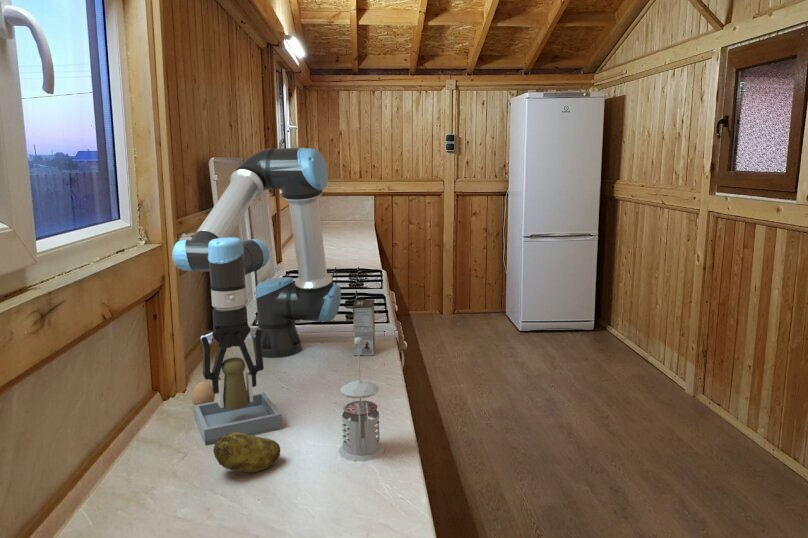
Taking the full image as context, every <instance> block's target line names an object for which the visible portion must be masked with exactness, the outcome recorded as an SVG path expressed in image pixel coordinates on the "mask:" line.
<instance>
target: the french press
mask: <svg viewBox="0 0 808 538" xmlns="http://www.w3.org/2000/svg"><path fill="white" fill-rule="evenodd" d="M354 343H355V344H358V354H359V356H358V379H357V380H354V381H350V382H347V384H345V385H343V386H342V387H341V388H340V393H341V394H342V395H343V396H344V397H346V398H350V399H359V400H353V401H351V402H347V403H346V404H345V405H344V406H343V412H342V415H341V421H342V422H343V423H342V424H341V425H342V427H341V428H342V431H341V432H342V439H343V440H342V445H341V446H340V447H339V449H338V454H339V456H340V457H341V458H344V459H345V460H348V461H353V462H366V461H371V460H374V458H375V459H377V458H379V457H381V456H382V455H383V454H384V452H385V446H384V445H383V444H382V443H381V442H380V438H381V437H380V412H379V411H378V405H377V404H376V403H375V402H373V401H367V400H362V399H366V398H367V399H368V398H370V397H372V396H375V395H376V394H377V393H378V392H379V390H380V387H379V386H378V385H377V384H376V383H374V382H371V381H368V380H365V379H364V380H361V359H360V357H361V356H360V349H359V344H362V343H363V339H362V338H360V337H357V338H355V339H354V338H353V344H354ZM369 417H370V419H369ZM371 418H372V419H371ZM349 419H350V420H349Z"/></svg>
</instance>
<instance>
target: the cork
mask: <svg viewBox="0 0 808 538" xmlns="http://www.w3.org/2000/svg"><path fill="white" fill-rule="evenodd" d="M245 368H246V362H245V360H244V358H241V357H229V358H226V359H225V360H224V359H223V363H222V367H221V370H222V373H223V374H224V379H223V402H224V408H226V409H240V408H243V407H246V406H247V405H248V404H249V399H248V395H247V385H246V379H245V376H244V371H245Z"/></svg>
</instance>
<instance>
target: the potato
mask: <svg viewBox="0 0 808 538" xmlns="http://www.w3.org/2000/svg"><path fill="white" fill-rule="evenodd" d="M213 454H214V455H213V456H214V458H215V459H216V461H217V462H218V464H219V465H220V466H221V467H223V468H224V469H225V470H231V471H239V472H243V473H257V472H260V471H263V470H265V469H268V468H269V467H271V466H272V465H274V464H275V462H277V461H278V459H279V458H280V456H281V446H280V444H279V443H278V442H277V441H276V440H274V439H270V438H268V437H266V438H265V437H263V436H262V437H260V436H255V435H246V434H243V433H230V434H227V435H224V436H223V437H220V438H219V439H218V440H217V442H216V443H214V446H213Z"/></svg>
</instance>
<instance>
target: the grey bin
mask: <svg viewBox="0 0 808 538" xmlns="http://www.w3.org/2000/svg"><path fill="white" fill-rule="evenodd" d="M193 416H194V421H195V423H197V424H196V425H197V428H198V431H199V430H200V431H199V434H200V435H201V438H202V441H203V443H204V445H205V446H208V445H212V444H215V443H216V442H217V440H218V439H219V438H220V437H223V436H224V435H227V434H230V433H243V434H246V435H251V436H255V435H259V434H264V433H268V432H273V431H277V430H282V427H283V426H282V414H281V413H280V411H279V410H278V409H277V407H276V405H274V403H273V402H272V401H271V399H270V397H269V396H268V395H267V394H266V392H259V393H253V402H249V404H248V405H247V406H246V407H243V408H240V409H226V408H224V407H223V408H220V406H219V404H218V400H216V401H215V400H214V402H210V403H205V404H199V405H194V404H193Z"/></svg>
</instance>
